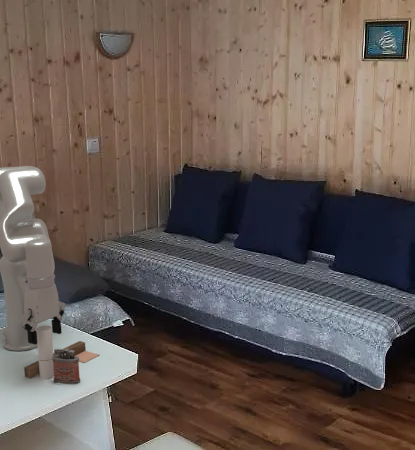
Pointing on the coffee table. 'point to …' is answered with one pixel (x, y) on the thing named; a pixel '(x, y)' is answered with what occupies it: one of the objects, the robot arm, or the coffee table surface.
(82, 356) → the end pad
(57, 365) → the lighter
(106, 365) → the coffee table surface
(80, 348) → the walnut straightedge
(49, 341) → the tube
